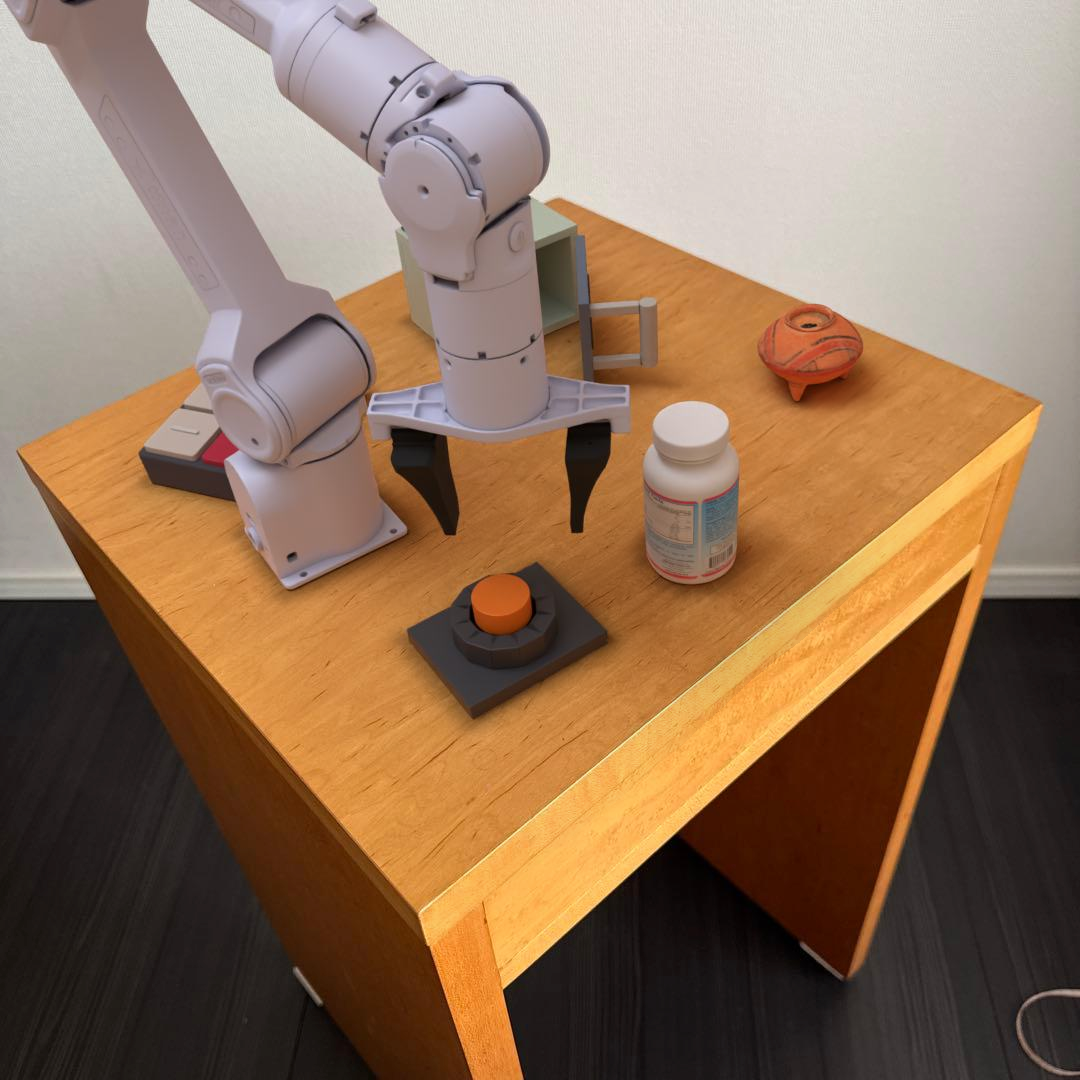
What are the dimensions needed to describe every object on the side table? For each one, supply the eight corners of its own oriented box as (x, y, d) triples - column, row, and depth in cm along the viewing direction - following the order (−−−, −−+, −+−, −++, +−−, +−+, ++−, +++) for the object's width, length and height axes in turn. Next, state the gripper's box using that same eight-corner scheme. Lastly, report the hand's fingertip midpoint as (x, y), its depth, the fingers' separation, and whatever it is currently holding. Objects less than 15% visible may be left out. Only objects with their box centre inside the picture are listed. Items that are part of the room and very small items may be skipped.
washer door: (659, 388, 90) (658, 298, 84) (584, 393, 90) (578, 304, 84) (649, 316, 98) (648, 229, 92) (581, 321, 98) (575, 235, 92)
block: (472, 720, 67) (466, 687, 65) (409, 641, 72) (401, 609, 70) (608, 643, 70) (606, 610, 68) (538, 573, 76) (534, 541, 74)
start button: (494, 644, 68) (490, 624, 67) (463, 610, 70) (460, 590, 69) (543, 617, 69) (541, 597, 68) (512, 585, 71) (509, 565, 70)
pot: (856, 415, 85) (843, 339, 81) (757, 417, 89) (739, 345, 85) (877, 355, 90) (866, 281, 86) (782, 360, 94) (767, 289, 90)
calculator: (131, 446, 84) (238, 332, 94) (151, 488, 87) (253, 373, 97) (254, 472, 81) (353, 350, 90) (270, 515, 84) (364, 393, 93)
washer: (468, 368, 95) (452, 269, 88) (411, 321, 101) (393, 225, 95) (584, 318, 99) (577, 220, 93) (522, 275, 106) (512, 181, 99)
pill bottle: (721, 519, 78) (725, 386, 71) (747, 579, 74) (755, 443, 66) (636, 534, 78) (631, 401, 70) (657, 595, 73) (654, 460, 66)
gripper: (627, 285, 61) (635, 478, 70) (367, 296, 63) (407, 483, 72) (626, 357, 56) (634, 556, 65) (342, 367, 57) (389, 560, 67)
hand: (514, 523), depth 68 cm, fingers open, 7 cm apart
